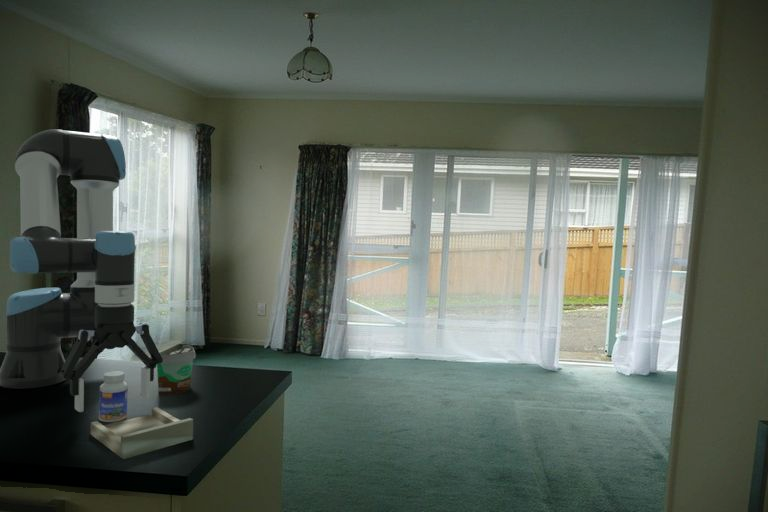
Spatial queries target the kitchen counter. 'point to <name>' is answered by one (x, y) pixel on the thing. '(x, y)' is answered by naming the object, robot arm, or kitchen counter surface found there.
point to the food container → (176, 371)
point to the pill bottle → (113, 397)
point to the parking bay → (143, 433)
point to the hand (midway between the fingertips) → (113, 403)
